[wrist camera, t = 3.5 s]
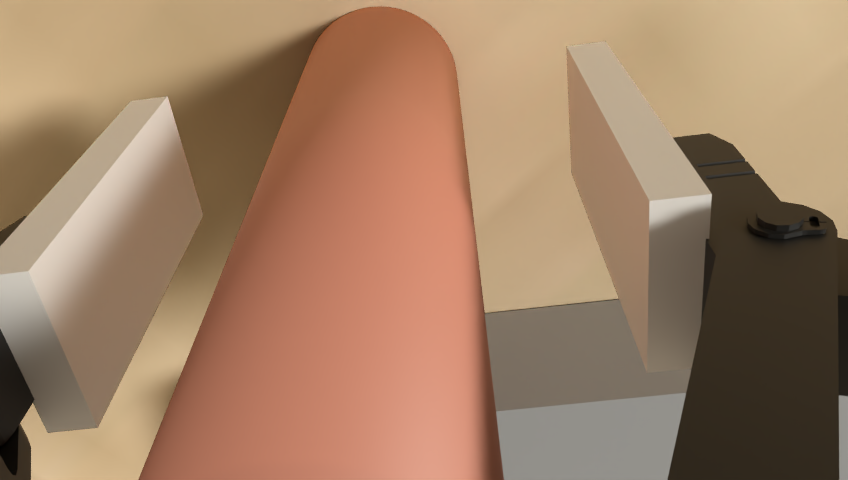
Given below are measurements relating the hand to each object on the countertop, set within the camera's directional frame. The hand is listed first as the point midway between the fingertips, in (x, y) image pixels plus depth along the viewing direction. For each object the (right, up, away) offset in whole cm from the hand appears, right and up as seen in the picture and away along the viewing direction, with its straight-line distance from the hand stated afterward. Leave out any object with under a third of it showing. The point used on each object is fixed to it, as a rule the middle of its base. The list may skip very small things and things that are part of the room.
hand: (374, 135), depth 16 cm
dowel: (0, +2, +3) cm, 3 cm away
